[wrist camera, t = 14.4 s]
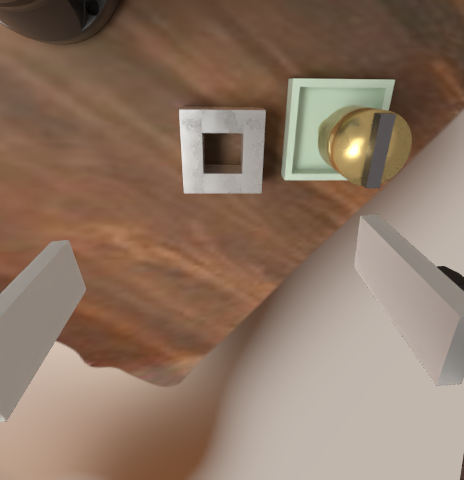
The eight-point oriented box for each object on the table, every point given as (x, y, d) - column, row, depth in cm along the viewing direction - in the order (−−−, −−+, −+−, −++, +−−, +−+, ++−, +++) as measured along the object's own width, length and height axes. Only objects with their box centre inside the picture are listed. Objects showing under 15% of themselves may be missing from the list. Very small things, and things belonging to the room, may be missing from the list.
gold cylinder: (301, 157, 39) (336, 190, 28) (307, 101, 36) (348, 111, 25) (352, 157, 40) (408, 190, 28) (361, 101, 37) (429, 111, 25)
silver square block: (183, 106, 37) (179, 109, 33) (260, 107, 37) (265, 110, 33) (187, 182, 41) (183, 193, 37) (257, 182, 41) (261, 193, 37)
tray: (288, 78, 36) (293, 78, 34) (384, 79, 36) (395, 79, 34) (280, 174, 41) (284, 180, 38) (365, 174, 41) (373, 180, 39)
